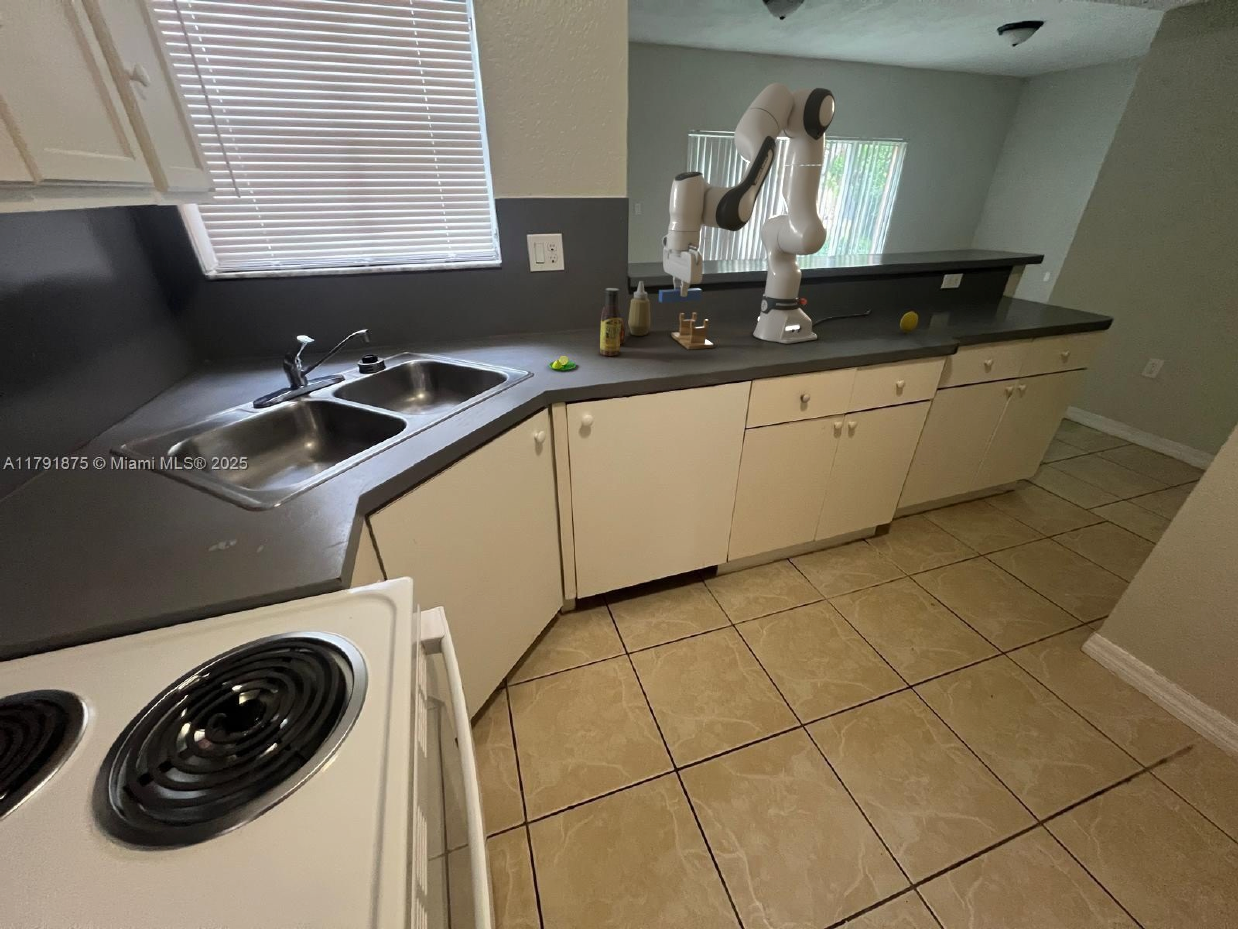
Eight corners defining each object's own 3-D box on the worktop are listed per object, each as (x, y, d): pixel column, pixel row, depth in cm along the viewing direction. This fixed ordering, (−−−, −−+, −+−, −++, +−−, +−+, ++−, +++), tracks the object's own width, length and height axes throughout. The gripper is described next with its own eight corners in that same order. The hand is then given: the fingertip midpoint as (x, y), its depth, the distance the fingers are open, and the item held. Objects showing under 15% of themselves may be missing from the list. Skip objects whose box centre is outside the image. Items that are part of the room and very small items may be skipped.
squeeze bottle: (650, 331, 178) (653, 279, 169) (649, 337, 171) (652, 284, 162) (628, 330, 179) (630, 278, 170) (626, 336, 172) (628, 283, 163)
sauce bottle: (605, 358, 151) (605, 291, 141) (596, 352, 156) (596, 287, 146) (623, 355, 154) (625, 290, 144) (614, 349, 159) (615, 286, 148)
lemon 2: (555, 361, 148) (555, 352, 146) (579, 364, 146) (579, 355, 144) (544, 369, 141) (543, 360, 140) (569, 373, 139) (569, 363, 138)
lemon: (914, 332, 184) (921, 310, 180) (913, 335, 180) (920, 313, 176) (898, 329, 187) (905, 308, 183) (896, 333, 183) (903, 311, 179)
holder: (671, 336, 174) (672, 311, 169) (694, 334, 176) (696, 310, 171) (688, 349, 160) (690, 323, 156) (713, 347, 163) (716, 321, 158)
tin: (603, 335, 172) (603, 311, 168) (611, 334, 173) (612, 310, 169) (617, 348, 160) (618, 322, 156) (626, 347, 161) (627, 321, 157)
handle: (697, 298, 142) (698, 287, 140) (700, 300, 140) (701, 289, 138) (658, 300, 139) (659, 290, 137) (661, 302, 137) (662, 291, 135)
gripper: (711, 246, 124) (705, 302, 131) (680, 237, 140) (677, 287, 148) (688, 247, 122) (684, 303, 129) (660, 237, 139) (658, 288, 146)
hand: (680, 294), depth 139 cm, fingers closed on handle, 2 cm apart
